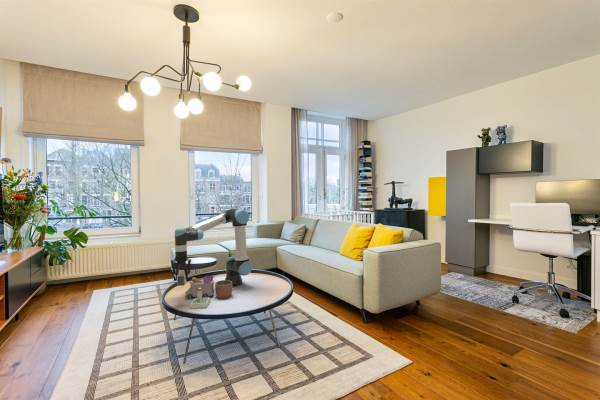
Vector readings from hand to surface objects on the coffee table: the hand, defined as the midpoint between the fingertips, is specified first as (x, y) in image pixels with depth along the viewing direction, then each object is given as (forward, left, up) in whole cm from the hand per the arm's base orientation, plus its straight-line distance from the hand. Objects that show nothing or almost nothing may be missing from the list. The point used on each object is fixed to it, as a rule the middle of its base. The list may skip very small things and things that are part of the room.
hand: (181, 283), depth 201 cm
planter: (-26, -12, -15) cm, 33 cm away
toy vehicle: (-8, -13, -15) cm, 22 cm away
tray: (-13, +4, -15) cm, 20 cm away
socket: (-13, -4, -14) cm, 20 cm away
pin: (-13, +4, -14) cm, 20 cm away
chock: (0, 0, 0) cm, 0 cm away
